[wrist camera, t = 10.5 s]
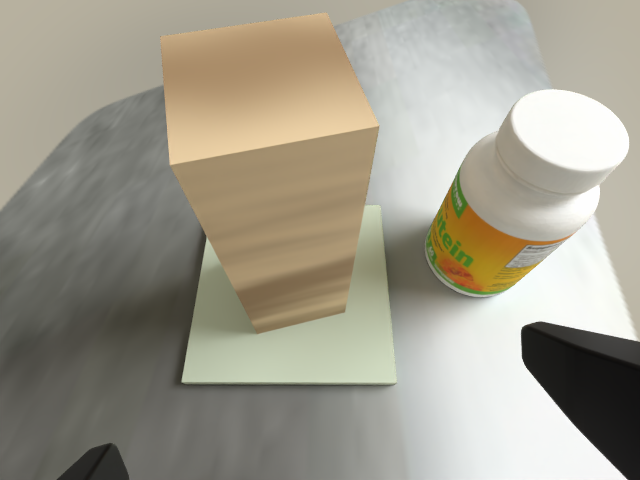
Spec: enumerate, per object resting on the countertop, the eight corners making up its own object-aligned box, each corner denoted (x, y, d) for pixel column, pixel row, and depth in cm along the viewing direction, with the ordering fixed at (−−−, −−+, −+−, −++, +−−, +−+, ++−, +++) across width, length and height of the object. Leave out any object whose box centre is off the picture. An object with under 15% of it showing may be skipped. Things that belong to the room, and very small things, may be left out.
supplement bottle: (407, 228, 22) (461, 91, 14) (487, 206, 23) (585, 64, 15) (449, 312, 20) (547, 207, 11) (538, 283, 21) (691, 165, 12)
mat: (394, 384, 18) (396, 382, 17) (185, 384, 18) (181, 382, 17) (379, 210, 23) (380, 205, 22) (214, 210, 23) (212, 204, 22)
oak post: (344, 312, 19) (379, 126, 8) (257, 334, 18) (170, 165, 8) (322, 238, 21) (326, 12, 10) (243, 255, 21) (160, 36, 10)
